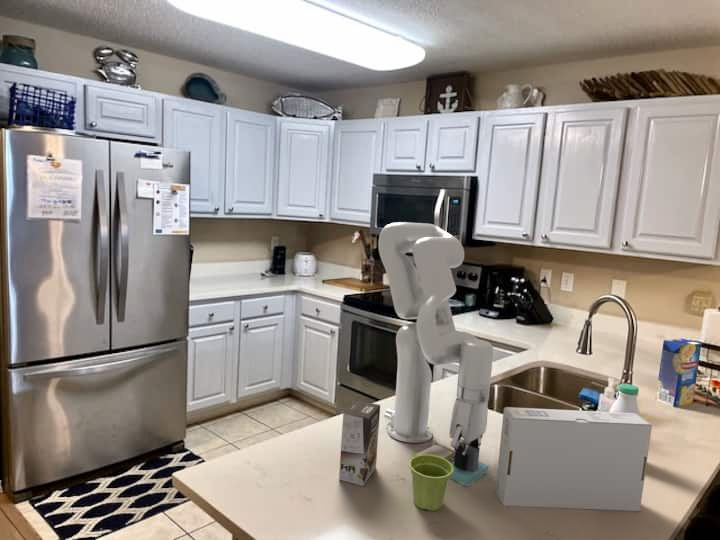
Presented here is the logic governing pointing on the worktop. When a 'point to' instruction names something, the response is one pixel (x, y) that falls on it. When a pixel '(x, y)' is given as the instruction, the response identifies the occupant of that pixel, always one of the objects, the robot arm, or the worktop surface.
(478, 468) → the block on base
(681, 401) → the blue tall rectangular box
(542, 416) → the packaging
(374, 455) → the coffee box
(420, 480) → the plant pot
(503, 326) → the worktop surface
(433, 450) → the ticket board
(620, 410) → the milk bottle
